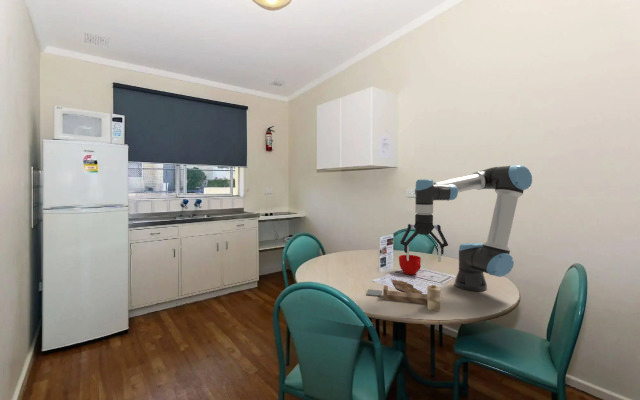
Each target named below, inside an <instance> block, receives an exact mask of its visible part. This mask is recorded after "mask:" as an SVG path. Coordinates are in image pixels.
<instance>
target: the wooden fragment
mask: <svg viewBox="0 0 640 400" xmlns="http://www.w3.org/2000/svg"><path fill="white" fill-rule="evenodd" d="M391 282H392V283H393V285H394V287H395V289H396V290H398V291H400V292H408V293H418V294H423V291H421V290H420V289H417V288H416V287H414V285H413V284H411V283H408V282H407V281H403V280H396V279H392V278H391Z"/></svg>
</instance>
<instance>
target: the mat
mask: <svg viewBox="0 0 640 400" xmlns="http://www.w3.org/2000/svg"><path fill="white" fill-rule="evenodd" d="M382 293H383V291H382V290H381V289H380V290H379V289H371V288H370V289H367V291H366V293H365V294H366V296H369V297H379V298H380V297H382Z"/></svg>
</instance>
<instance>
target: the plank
mask: <svg viewBox="0 0 640 400" xmlns="http://www.w3.org/2000/svg"><path fill="white" fill-rule="evenodd" d="M388 288H389V286H388V285H383V291H382V293H383V295H382V297H383V298H382V300H385V301H396V302H403V303H412V304H413V303H414V304H421V305H423V304H424V305H427V293H422V294H418V293H408V292H404V291H399V290H398V291H396V290H389V289H388Z"/></svg>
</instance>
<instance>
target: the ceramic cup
mask: <svg viewBox="0 0 640 400" xmlns="http://www.w3.org/2000/svg"><path fill="white" fill-rule="evenodd" d="M398 262H399V263H398V264H399V267H400V269H401V271H402V273H403V274H405V275H411V276H412V275H416V274H417V273H418V271H420V269H421V264H422V263H421V262H422V258H421V257H420V256H418V255H416V254H415V255H414V254H409V261H407V254H401V255H399V256H398Z"/></svg>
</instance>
